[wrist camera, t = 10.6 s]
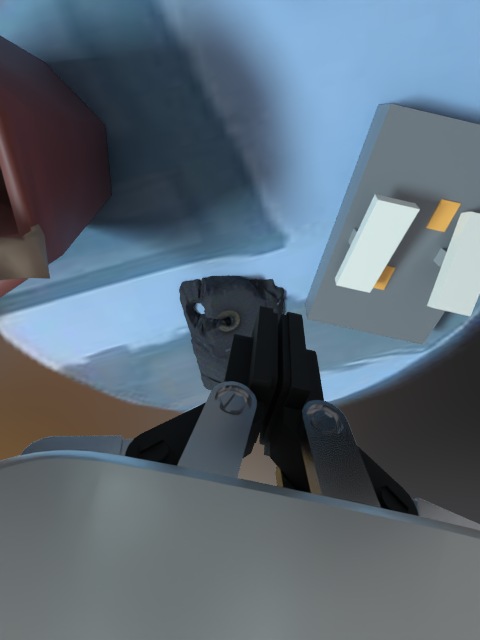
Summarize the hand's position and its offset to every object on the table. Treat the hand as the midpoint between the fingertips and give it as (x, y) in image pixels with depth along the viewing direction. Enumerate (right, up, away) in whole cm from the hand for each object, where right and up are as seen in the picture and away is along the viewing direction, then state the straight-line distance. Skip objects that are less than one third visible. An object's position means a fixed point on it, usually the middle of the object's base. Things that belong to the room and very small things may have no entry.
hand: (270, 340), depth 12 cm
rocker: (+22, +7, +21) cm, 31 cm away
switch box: (+18, +11, +26) cm, 33 cm away
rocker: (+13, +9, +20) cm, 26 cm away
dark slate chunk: (-2, -2, +37) cm, 37 cm away
